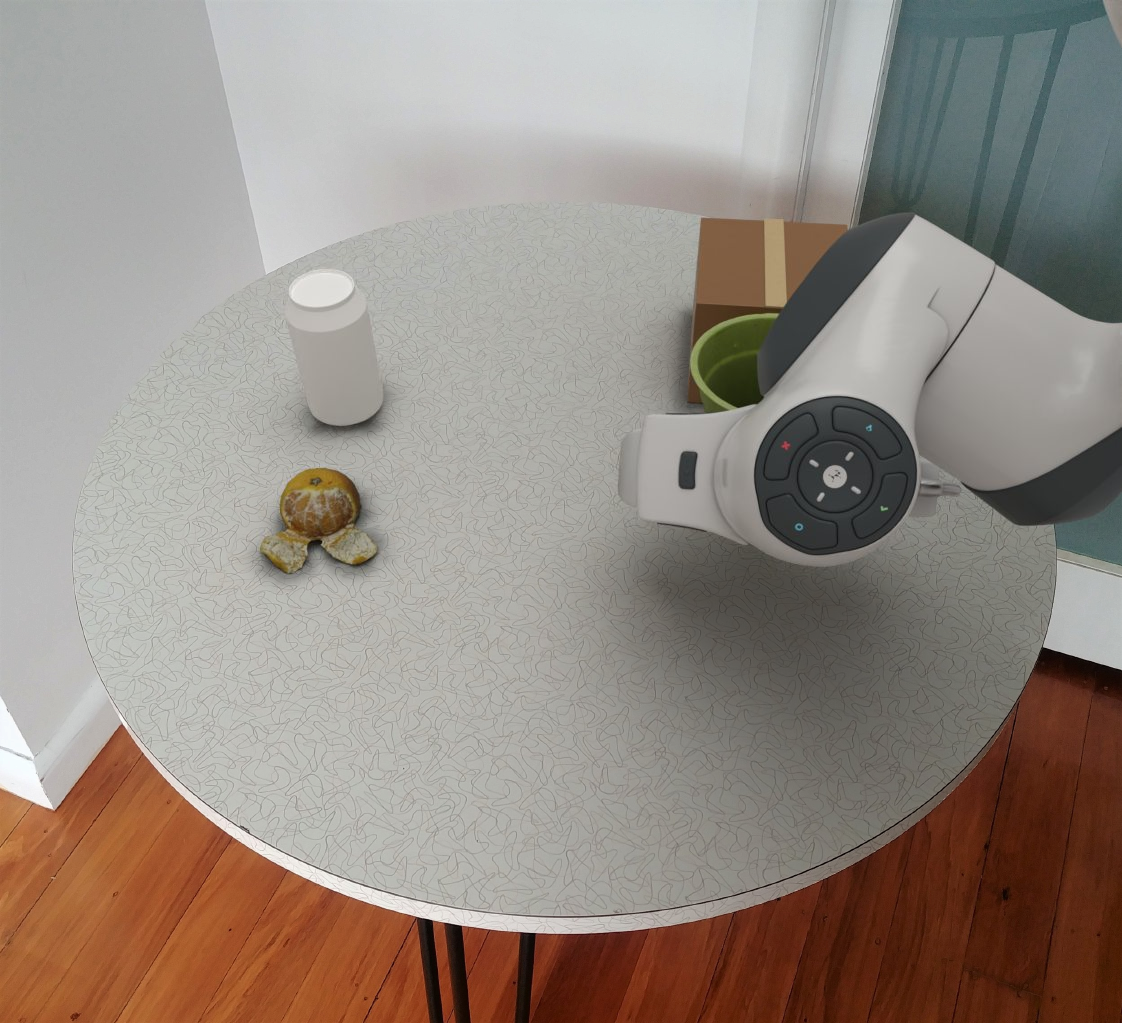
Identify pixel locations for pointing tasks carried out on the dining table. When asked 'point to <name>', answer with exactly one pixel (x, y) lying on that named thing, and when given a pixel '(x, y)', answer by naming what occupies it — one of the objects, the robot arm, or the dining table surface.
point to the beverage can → (334, 347)
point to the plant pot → (730, 362)
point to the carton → (751, 269)
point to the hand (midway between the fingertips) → (762, 478)
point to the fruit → (319, 520)
